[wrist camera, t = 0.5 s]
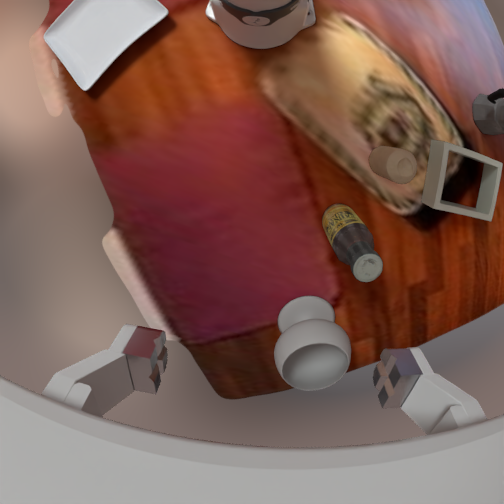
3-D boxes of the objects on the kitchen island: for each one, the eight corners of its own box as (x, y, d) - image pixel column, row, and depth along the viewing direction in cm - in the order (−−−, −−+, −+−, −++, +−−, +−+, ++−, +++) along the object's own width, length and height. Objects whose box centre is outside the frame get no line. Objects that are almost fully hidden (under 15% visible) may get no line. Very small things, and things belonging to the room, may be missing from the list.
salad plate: (49, 38, 40) (40, 36, 36) (120, -32, 34) (114, -38, 31) (93, 95, 46) (83, 93, 42) (176, 18, 40) (170, 11, 37)
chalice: (307, 277, 58) (319, 323, 44) (351, 316, 61) (370, 363, 47) (259, 321, 62) (257, 372, 48) (304, 354, 65) (312, 404, 51)
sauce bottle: (340, 195, 51) (379, 230, 33) (359, 221, 53) (403, 267, 35) (312, 217, 53) (336, 264, 35) (332, 242, 55) (362, 297, 37)
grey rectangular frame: (431, 139, 46) (444, 141, 41) (488, 159, 46) (502, 163, 41) (421, 201, 51) (433, 208, 46) (478, 214, 51) (491, 221, 46)
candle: (401, 161, 48) (427, 169, 39) (382, 181, 50) (405, 193, 41) (382, 139, 47) (406, 142, 38) (362, 160, 49) (383, 167, 40)
